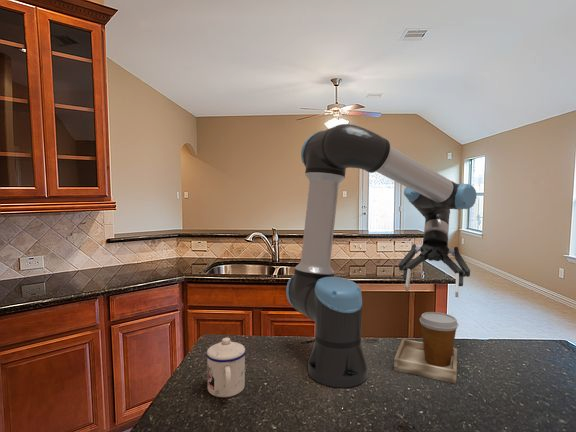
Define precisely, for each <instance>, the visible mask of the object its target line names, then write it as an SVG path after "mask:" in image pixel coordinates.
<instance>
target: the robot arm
mask: <svg viewBox="0 0 576 432" xmlns="http://www.w3.org/2000/svg"><path fill="white" fill-rule="evenodd" d="M300 151H301V152H300V157H301V161H302V163H303V165H304V167H305V172H304V175H305V177H306V178H307V179H308V181H309V182H308V183H309V185H308V193H307V202H306V203H307V204H306V212H305V218H304V220H305V221H304V227H303V228H304V230H303V238H302V248H301V258H300V262H299V263H298V264H297V265H296V266H295V267H294V272H293V275H292V276H291V277H290V278H289V279H288V281H287V283H286V284H287V285H286V287H285V291H286V292H285V293H286V294H285V295H286V298H287V301H288V303H289V304H290V305H291V306H292V308H293V309H295V311H297V312H298V313H299V314H302V315H304V316H305V317H307V318H308V319H310V320H312V321H313V322H314V326H315V327H314V331H315V332H314V333H315V336H314V344H313V346H312V349H311V352H310V355H309V358H308V362H307V373H308V376H310V377H311V379H312V380H314V381H316V382H317V383H319V384H321V385H323V386H328V387H332V388H352V387H356V386H359V385H361V384H364V382H365V381H367V379H368V377H369V376H368V375H369V373H368V372H369V368H368V366H369V365H368V362H367V359H366V356H365V353H364V350H363V346H362V317H363V315H362V313H363V311H362V310H363V296H362V290H361V287H360V286H359V284H358V283H356V282H354V281H353V280H352V279H348V278H346V277H345V278H342V277H339V276H335V270H334V269H333V268H332V267H331V259H332V251H333V241H334V231H335V222H336V215H337V213H336V212H337V205H338V195H339V185H340V183H342V182H343V181H344V180H345V179H346V171H347V169H348V168H352V169H361V170H363V171H366V172H368V173H371V174H372V173H373V174H374V173H378V174H380V175H381V176H384V177H386V178H388V179H390V180H391V181H394V182H396V183H398V184H400V185H401V186H404V187H405V188H404V190H403V194H404V197H405V198H406V199H407V200H408V202H409V203H410V204H411V205H412V206H414V207H415V209H416V210H417V211H418V212H419V214H421V215H422V216H423V217H424V221H425V223H424V226H423V227H424V229H423V230H424V231H423V238H422V245H421V246H417V245H416V244H415V243H412V245H411V248H410V250H409V251H408V252H407V254H406V255H405V256H404V257H403V258H402V259H401V260H400V262H399V263H398V269H399V271H403V273H402V274H403V275H402V279H403V281H405V285H404V286H405V292H410V291H409V290H410V285H411V284H410V283H411V275H412V273H411V271H412V270H414V269H415V268H416V267H417V266H419V265H420V264H421V263H423V262H425V261H427V260H428V261H431V262H432V261H435V262H440V261H441V262H443V263H444V265H446V266H447V267H449V269H451V271H452V272H453V273H454V274H455V298H459V287H463V286H464V278H465V277H467V278H469V277H471V269H470V267H469V266H468V265H467V263H466V261H465V260H464V258H463V257H462V255H461V253H460V252H459V250H460V249H459V247H458V246H455V247H453V248H449V229H450V227H449V226H450V214H451V210H457V211H460V210H468V209H472V207H474V205H475V204H476V200H477V191H476V188H475V187H474V186H473V185H472V184H470V183H464V182H463V183H456V182H454V181H452V180H450V179H449V178H447V177H446V176H444V175H442V174H440V173H439V172H437V171H434V170H433V169H431V168H430V167H428V166H426V165H424V164H422V163H420V162H419V161H418V160H415V159H414V158H412V157H410V156H408V155H406V154H405V153H403V152H401V151H400V150H398V149H396V148H394V147H393V146H391V142H390V141H389V140H388V139H387V138H384V137H383V136H381V135H380V134H378V133H376V132H373V131H372V130H370V129H366V128H364V127H363V126H362V127H361V126H359V125H356V124H355V125H354V124H351V123H349V124H348V123H343V124H338V125H335V126H332V127H330V128H327V129H325V130H320V131H317V132H315V133H313V134H312V135H310V136H309V137H308V138H307V139H306V140H305V141H304V143H303V144H302V148H301V150H300ZM419 252H420V253H419ZM418 253H419V254H418ZM417 254H418V255H417ZM449 254H451V255H452V257H454V259H455V261H456V263H457V264H456V263H455V262H454V260H453V259H451V258H450V257H449ZM415 255H417V256H416V257H415Z"/></svg>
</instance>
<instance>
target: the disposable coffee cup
mask: <svg viewBox="0 0 576 432" xmlns="http://www.w3.org/2000/svg"><path fill="white" fill-rule="evenodd" d="M457 321H458V320H457V318H456V317H455V316H453V315H450V314H447V313H444V312H439V311H438V312H436V311H427V312H424V313H422V314H421V316H420V317H419V322H420V325H421V334H422V342H423V345H424V354H425V360H426V361H427V362H428V363H430V364H432V365H435V366H440V367H445V366H449V365H450V364H451V358H452V352H453V348H454V344H455V340H456V339H455V338H456V333H457V329H458V328H459V323H458V322H457Z"/></svg>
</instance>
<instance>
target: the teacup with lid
mask: <svg viewBox="0 0 576 432" xmlns="http://www.w3.org/2000/svg"><path fill="white" fill-rule="evenodd" d="M246 352H247V351H246V347H245V346H244V345H243V344H242V343H239V342H236V341H232V340H231V338H230V337H223V338H222V339H221V341H220V342H217V343H215V344H212V345H211V346H210V347H208V348H207V351H206V355H205V356H206V357H207V359H206V360H207V367H206V368H207V369H206V370H207V375H206V376H207V391H208V393H210V394H211V395H212V396H214V397H217V398H229V397H233V396H236V395H238V394H240V393H241V392H242V391H243V390H244V389H245V386H246V384H245V383H246V376H245V375H246V360H245V359H246V356H245V355H246Z"/></svg>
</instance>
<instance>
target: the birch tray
mask: <svg viewBox="0 0 576 432" xmlns="http://www.w3.org/2000/svg"><path fill="white" fill-rule="evenodd" d="M457 366H458V348H456V347H453V352H452V358H451V364H450V365H449V366H445V367H440V366H435V365H432V364H430V363H428V362H427V361H426V360H425V354H424V345H423V341H417V340H410V339H406V338H401V342H400V344H399V346H398V348H397V352H396V353H395V355H394V358H393V371H396V372H400V373H405V374H409V375H414V376H418V377H422V378H427V379H433V380H437V381H439V382H445V383H450V384H454V385H457V377H458V376H457V373H458V372H457V371H458V370H457V369H458V367H457Z"/></svg>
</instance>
